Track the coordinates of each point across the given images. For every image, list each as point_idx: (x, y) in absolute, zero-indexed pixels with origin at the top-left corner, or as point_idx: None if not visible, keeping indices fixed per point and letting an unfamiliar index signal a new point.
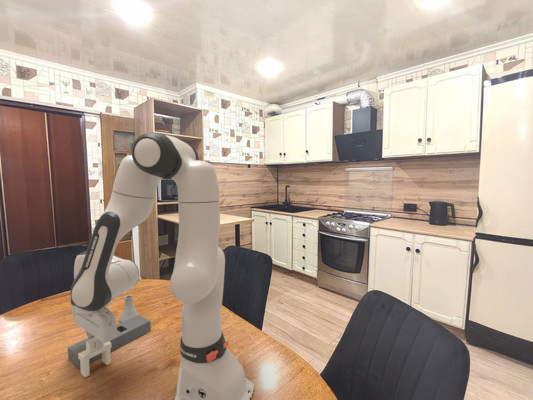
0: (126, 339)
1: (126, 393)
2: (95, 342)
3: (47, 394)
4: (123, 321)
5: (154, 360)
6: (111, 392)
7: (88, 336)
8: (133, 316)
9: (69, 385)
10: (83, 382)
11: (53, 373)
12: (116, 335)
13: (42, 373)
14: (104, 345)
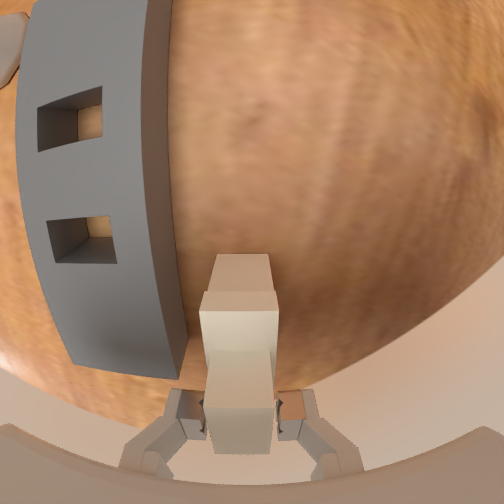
0: (159, 115)
1: (455, 291)
2: (288, 439)
3: None
4: (1, 80)
5: (433, 130)
6: (415, 317)
7: (180, 444)
8: (11, 33)
9: None
10: (287, 355)
11: (149, 379)
12: (501, 435)
13: (127, 387)
14: (264, 347)
